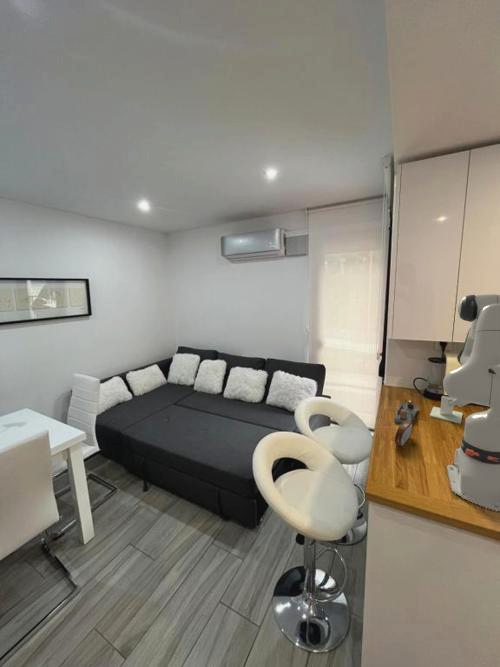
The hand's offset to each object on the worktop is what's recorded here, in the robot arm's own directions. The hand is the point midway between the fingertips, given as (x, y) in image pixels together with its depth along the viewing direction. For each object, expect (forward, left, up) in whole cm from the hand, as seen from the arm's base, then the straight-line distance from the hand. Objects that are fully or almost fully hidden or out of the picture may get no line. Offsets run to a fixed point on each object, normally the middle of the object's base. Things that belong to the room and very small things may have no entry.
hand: (449, 402), depth 140 cm
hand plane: (-13, +17, -8) cm, 22 cm away
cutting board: (0, +1, -8) cm, 8 cm away
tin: (-40, +13, -8) cm, 42 cm away
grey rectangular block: (0, +1, -7) cm, 7 cm away
